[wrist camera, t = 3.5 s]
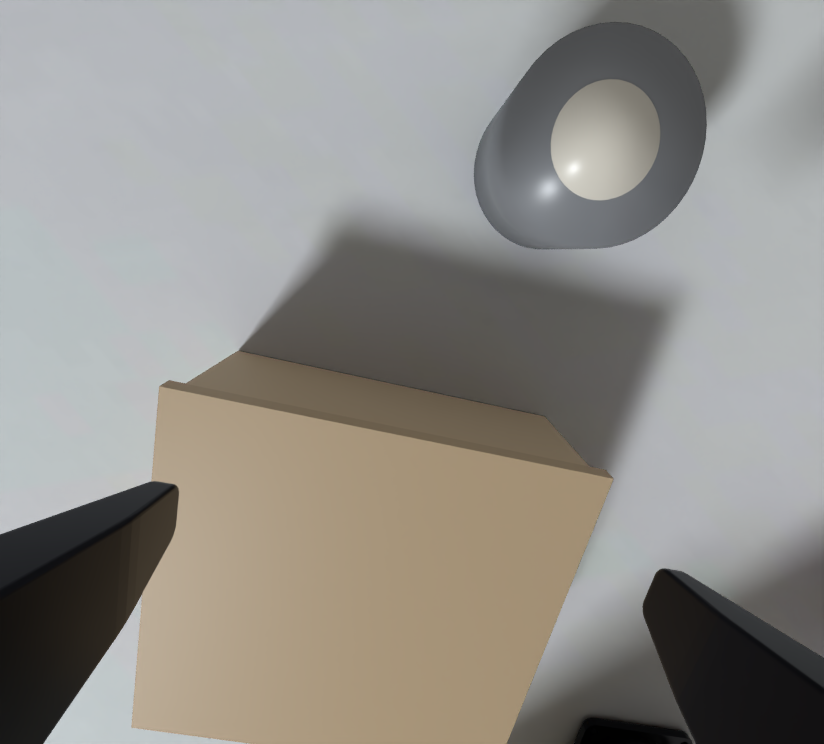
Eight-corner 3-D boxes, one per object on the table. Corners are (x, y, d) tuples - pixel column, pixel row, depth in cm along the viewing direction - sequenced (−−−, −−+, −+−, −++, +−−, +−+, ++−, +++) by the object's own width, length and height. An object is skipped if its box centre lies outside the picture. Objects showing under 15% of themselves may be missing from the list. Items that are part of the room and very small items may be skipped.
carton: (544, 416, 20) (589, 467, 16) (465, 654, 24) (483, 756, 19) (237, 350, 19) (185, 384, 14) (201, 612, 23) (148, 710, 18)
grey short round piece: (643, 110, 17) (741, 54, 12) (593, 264, 19) (662, 268, 14) (497, 68, 17) (539, -8, 12) (457, 230, 18) (480, 222, 13)
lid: (605, 469, 15) (613, 479, 15) (490, 759, 19) (493, 776, 18) (169, 380, 14) (159, 386, 13) (140, 711, 18) (131, 727, 17)
